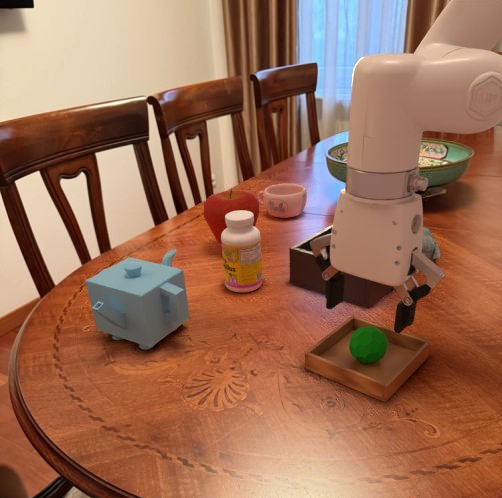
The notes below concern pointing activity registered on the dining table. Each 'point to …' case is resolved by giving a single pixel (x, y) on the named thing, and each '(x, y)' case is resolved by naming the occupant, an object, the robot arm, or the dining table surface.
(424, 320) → the dining table surface
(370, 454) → the dining table surface
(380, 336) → the polyhedron
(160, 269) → the teapot
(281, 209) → the mug
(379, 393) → the tray
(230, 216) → the supplement bottle
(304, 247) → the dark brown open box
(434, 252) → the packaged food
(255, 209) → the apple
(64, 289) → the dining table surface
